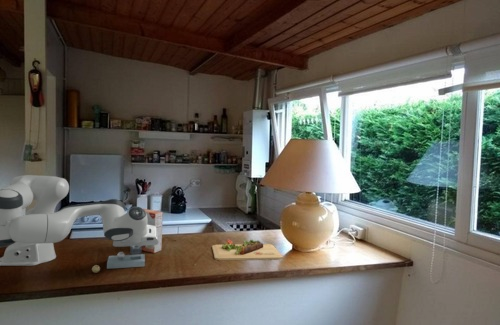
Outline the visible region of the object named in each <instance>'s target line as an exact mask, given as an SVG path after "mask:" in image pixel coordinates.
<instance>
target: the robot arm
mask: <svg viewBox="0 0 500 325" xmlns="http://www.w3.org/2000/svg"><path fill="white" fill-rule="evenodd" d="M69 190H70V185H69V182H68V181H67V179H66V178H63V177H60V176H59V177H58V176H55V175H35V174H25V175H24V174H23V175H19V176H18V175H17V176H15V177H13V178H12V180H11V181H10V183H9V185H8V186H5V187H2V188H0V248H5V247H6V248H5V251H4V254H3V256H2V257H0V266H31V267H32V266H37V265H39V264H43V263H47V262H51V261H53V260H55V259H56V258H57V255H56V251H55V247H54V246H55V245H54V244H55V243H60V242H62V241H63V240H65V238H67V237H68V235H69V234H70V232H71V229H73V225H74V223H75V221H76V220H77V219H79V218H83V217H90V216H100V217H101V221H102V222H101V223H102V229H103V235H104V237H105V238H106V239H107V240H109V241H112V246H113V247H115V248H117V247H118V248H119V247H121V248H122V247H130V248H131V247H132V248H133V249H139V247H141V246H143V245H157V244H158V243H159V238H158V232H157V229H156V226H153V225H148V224H147V223H148V218H147V213H146V212H145V210H144V209H145V208H142V207H140V206H133V207H130V208H129V209H128V210H127V212H126V205H125V203H124V202H123V201H122V200H120V199H116V198H110V199H106V200H103V201H96V202H87V203H79V204H78V203H77V204H71V205H67V206H63V207H61V208H60V209H59V211H56V212H55V209H56V207H57V205H58V204H59V202H61V200H63V199H65V197H67V195H68V193H69ZM33 200H36V203H35V206H34V207H32V208H29V209H28V210H27V211H26V212H25V214H24V215H23V209H25V208H28V207H30V205H31V204H32V203H33Z"/></svg>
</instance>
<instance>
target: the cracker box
mask: <svg viewBox="0 0 500 325" xmlns="http://www.w3.org/2000/svg"><path fill="white" fill-rule="evenodd" d="M143 209H144V210H145V212H146V213H147V218H148V223H147V224H148V225H153V226H156V229H157V232H158V238H159V243H158V244H157V245H143V246H142V247H141V251H144V252H147V253H151V254H155V253H158V252H162V246H163V245H162V244H163V242H162V241H163V215H164V214H163V213H164V212H163V211H159V210H153V209H146V208H143Z"/></svg>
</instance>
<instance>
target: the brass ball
mask: <svg viewBox="0 0 500 325" xmlns="http://www.w3.org/2000/svg"><path fill="white" fill-rule="evenodd" d="M91 271H92V273H94V274H96V273H99V272H100V271H101V267H100V265H97V264H95V265H94V266H92V268H91Z"/></svg>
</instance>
